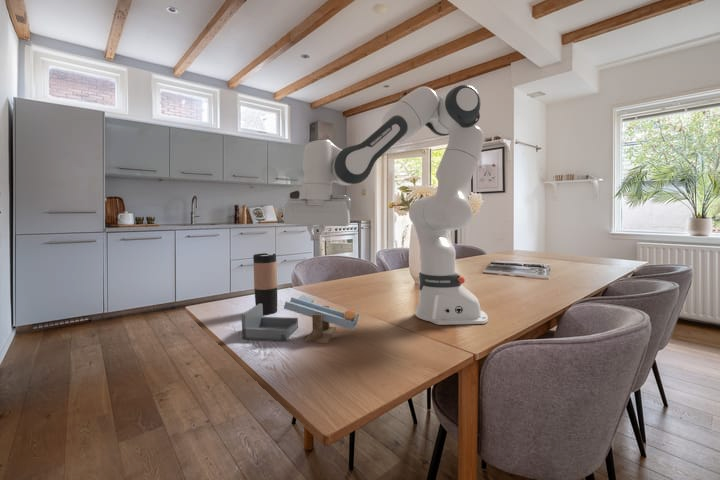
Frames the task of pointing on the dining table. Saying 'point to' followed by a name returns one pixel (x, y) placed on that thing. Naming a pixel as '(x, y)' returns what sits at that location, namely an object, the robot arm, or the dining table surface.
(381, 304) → the dining table surface
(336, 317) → the lever
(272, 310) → the travel mug
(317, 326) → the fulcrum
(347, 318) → the ball
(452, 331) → the dining table surface
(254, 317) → the tray
